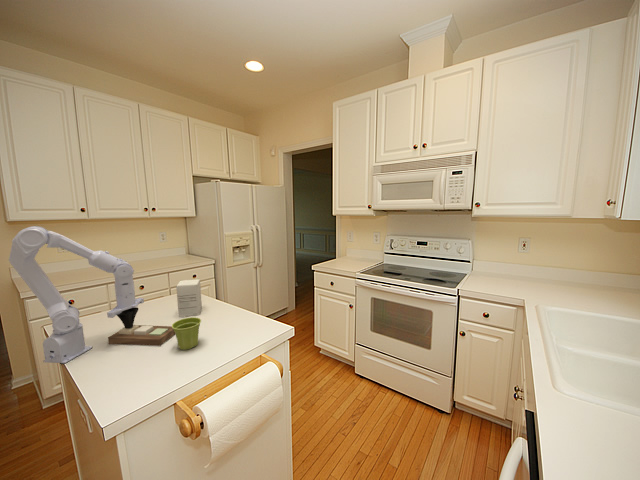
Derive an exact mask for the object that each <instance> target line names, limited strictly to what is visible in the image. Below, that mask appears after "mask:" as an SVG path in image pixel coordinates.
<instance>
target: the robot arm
mask: <svg viewBox="0 0 640 480" xmlns="http://www.w3.org/2000/svg"><path fill="white" fill-rule="evenodd" d="M45 245H47V246H46V248H53V249H55V248H56V249H57V248H58V249H59V248H60V249H63V250H65V251H67V252H71V253H72V254H75V255H78V256H79V257H82V258H85V259H86V260H87V261H88V265H90V266H92V267H95V268H97V269H99V270H101V271H103V272H106V273H107V274H108V273H109V274H111V273H112V274H113V276H114V290H115V291H114V292H115V300H116V306H115V307H113V308H112V309H110V311H109V310H108V311H107V312H106V314H107V318H108V319H109V318H110V319H114V318H115V317H118V319H120V322H122V325H123V326H124V327H125V329H130V328H132V327H133V325H135V324H134V323H135V318H136V315H137V313H138V311H139V307H138V306H139V305H140V304H144V303H145V301H144V298H143V297H138V298H136V294H135V293H136V291H135V282H134V281H135V280H134V276H133V275H134V272H135V270H134V269H133V268H134V267H133V266H132V265H131V264H130V263H129V262H127V261H126V260H124V259H123V258H118V257H117V256H114V255H112V254H110V251H107V250H105V251H104V250H101V249H100V250H92V249H90V248H88V247H87V246H85V245H83V244H81V243H79V242H78V241H74V240H73V239H71V238H69V237H67V236H65V235H62V234H60V233H58V232H55V231H52V230H48V229H46V227H43V226H38V225H35V226H34V225H33V226H32V225H31V226H29V227H26V228H23V229H21V230H20V231H18V232H17V234H15V236H14V237H13V238H12V240H11V248H10V252H9V257H8V261H9V263H10V265H11V266H12V268H13V269H14V270H15V271H16V272H17V275H19V276H20V278H21V279H22V281H24V283H25V284H26V286H27V287H28V288H29V290H30V291H31V292H32V293H33V294H34V296H35V297H36V299H38V300H39V302H40V303H41V304H42V306H43V307H44V309H46V312H47V314H48V316H49V318H50V320H51V322H52V325H51V326H52V333H51V335H49V336H47V338H45V339H44V340H43V342H42V349H43V356H44V360H43V361H42V363H53V364H66V363H68V362H70V361H72V360H73V359H76V358H77V357H78V356H81V355H82V354H84V353H86V352H89V350H91V349H93V346H91V345H86V344H85V336H84V335H85V334H84V326H83V323H82V322H81V321H80V310H79V308H77V307H75V306H73V305H72V304H70V303H69V302H68V301H67V300H66V299H65V298H64V297H63V296H62V294H61V293H60V292H59V290H58V288H57V287H56V286H55V285H54V282H52V280H51V279H50V278H49V276H48V275H47V274H46V273H45V271H44V270H43V268H42V267H41V266H40V264H39V263H38V261H37V260H36V257H37V254H38V253H39V251H40V249H41V248H43V247H44V246H45ZM124 327H123V328H124Z"/></svg>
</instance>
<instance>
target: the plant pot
mask: <svg viewBox="0 0 640 480" xmlns="http://www.w3.org/2000/svg"><path fill="white" fill-rule="evenodd" d="M201 322H202V319H201V318H199V317H196V316H190V317H184V318H181V319H179V320H177V321H175V322H174V323H172V324H171V326H172V328H173V329H174V332H175V338H176V341H177V345H178V348H179V349H180V350H184V351H187V350H190V349H192V348H193V347H196V346H198V344H199V334H200V333H199V332H200V326H201Z"/></svg>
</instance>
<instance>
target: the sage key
mask: <svg viewBox="0 0 640 480" xmlns="http://www.w3.org/2000/svg"><path fill="white" fill-rule="evenodd" d="M167 331H168V329H161V328H157V329H156V330H154V331H153V332H151V333H150V334H149V335H153V336H161V335H162V334H164V333H165V332H167Z"/></svg>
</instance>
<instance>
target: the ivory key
mask: <svg viewBox="0 0 640 480" xmlns="http://www.w3.org/2000/svg"><path fill="white" fill-rule="evenodd" d="M153 326H154V325H146V326H141V327H140V328H138V329H136V330H135V331H134V335H146V334H148V333H149V332H151V331H152V330H154V328H153Z"/></svg>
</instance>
